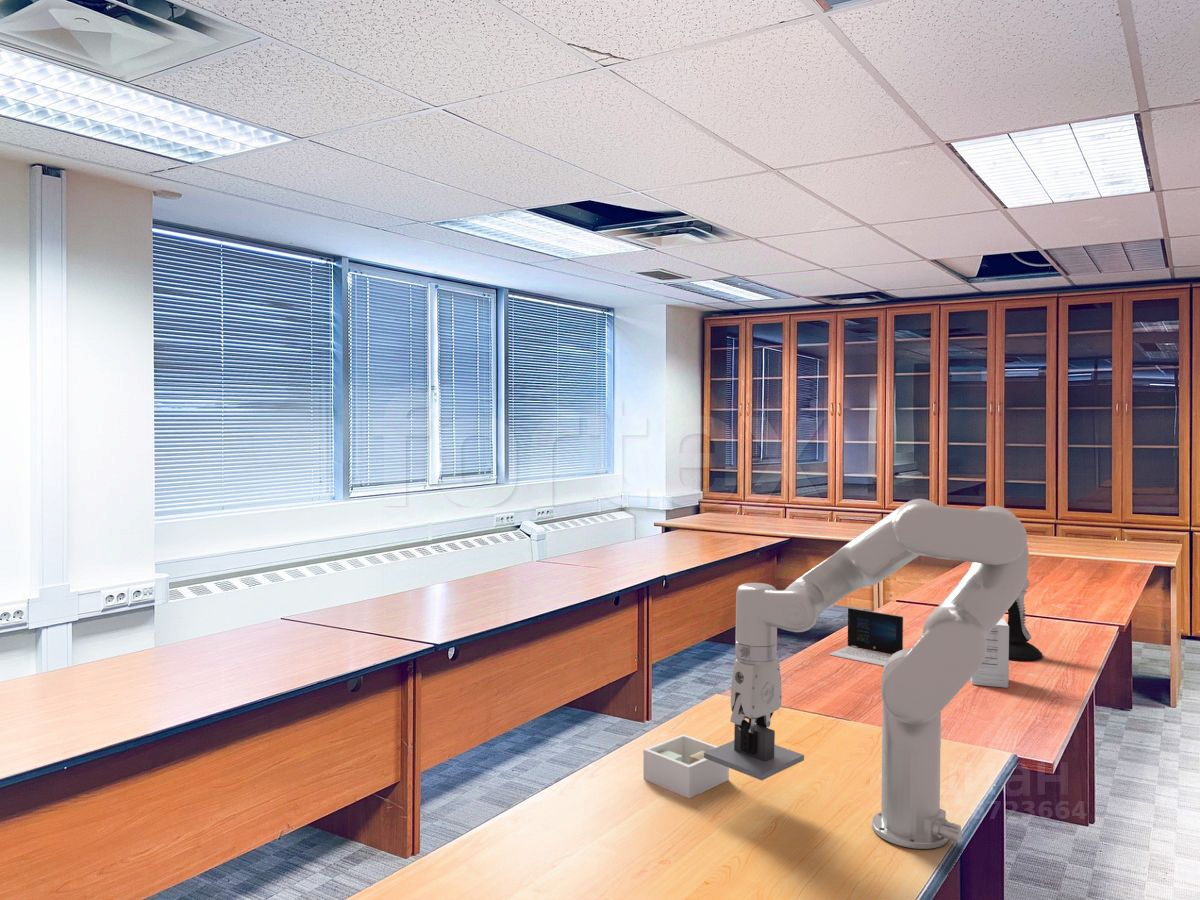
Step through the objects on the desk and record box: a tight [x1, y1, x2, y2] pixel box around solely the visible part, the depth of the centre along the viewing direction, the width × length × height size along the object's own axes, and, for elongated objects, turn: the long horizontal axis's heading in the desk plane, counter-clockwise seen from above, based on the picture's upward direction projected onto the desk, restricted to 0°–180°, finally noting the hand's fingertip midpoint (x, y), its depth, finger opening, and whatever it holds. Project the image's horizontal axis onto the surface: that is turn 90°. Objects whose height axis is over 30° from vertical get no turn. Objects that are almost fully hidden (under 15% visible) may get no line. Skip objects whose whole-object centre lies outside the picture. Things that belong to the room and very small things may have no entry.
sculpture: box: [1007, 577, 1043, 662], centre depth 261 cm, size 15×24×25 cm, turn 49°
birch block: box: [690, 751, 705, 764], centre depth 169 cm, size 4×4×4 cm
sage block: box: [659, 750, 683, 762], centre depth 169 cm, size 4×4×4 cm
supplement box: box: [969, 618, 1010, 689], centre depth 231 cm, size 10×9×17 cm
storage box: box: [643, 733, 730, 799], centre depth 169 cm, size 12×12×6 cm
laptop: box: [828, 607, 904, 667], centre depth 256 cm, size 18×12×13 cm
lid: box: [704, 720, 805, 781], centre depth 156 cm, size 13×13×6 cm
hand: (754, 749), depth 156 cm, fingers closed on lid, 2 cm apart
